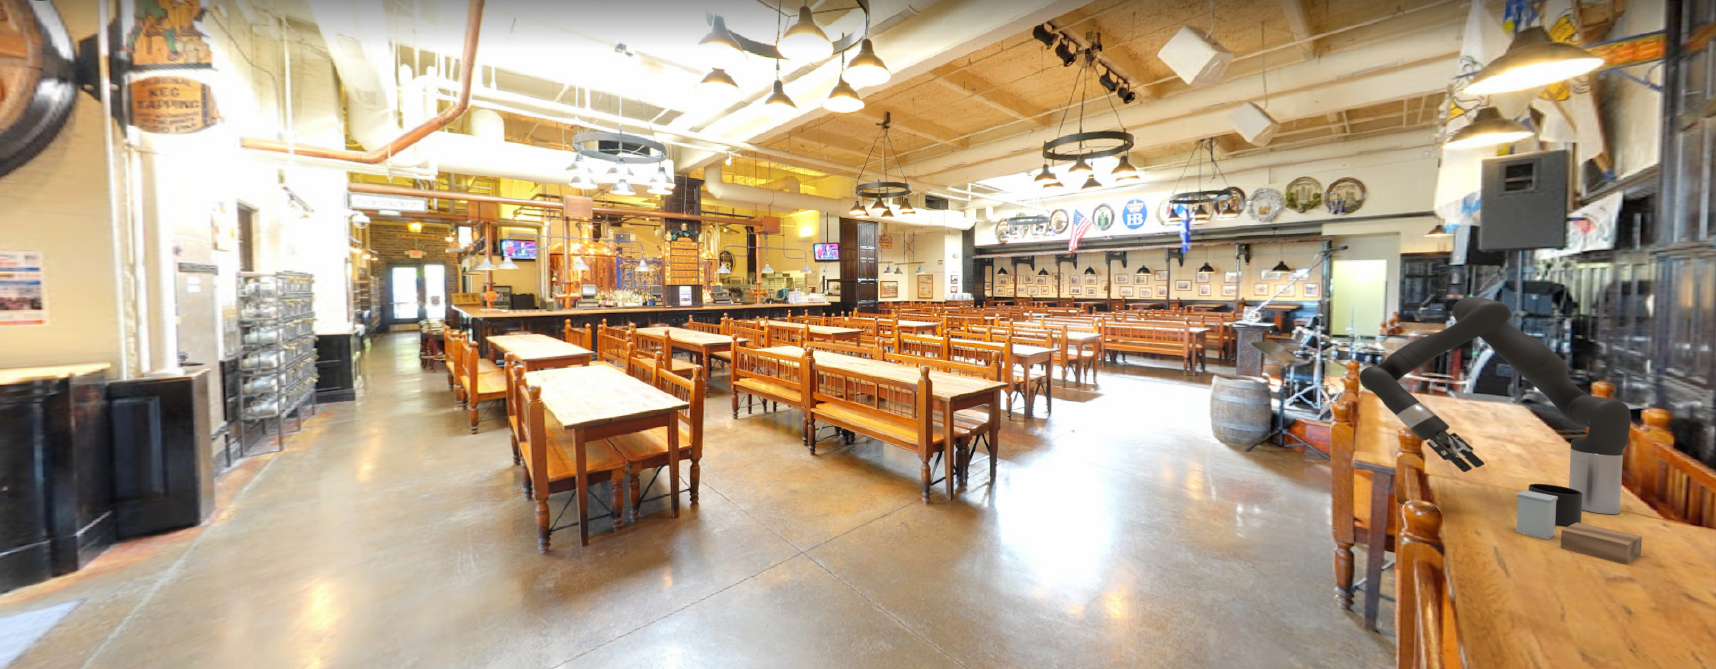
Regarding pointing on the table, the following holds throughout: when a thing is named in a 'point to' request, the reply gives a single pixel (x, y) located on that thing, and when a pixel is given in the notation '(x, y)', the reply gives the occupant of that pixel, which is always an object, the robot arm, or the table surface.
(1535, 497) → the grey lidded pillar
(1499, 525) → the table surface
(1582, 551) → the walnut block
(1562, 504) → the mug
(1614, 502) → the robot arm
